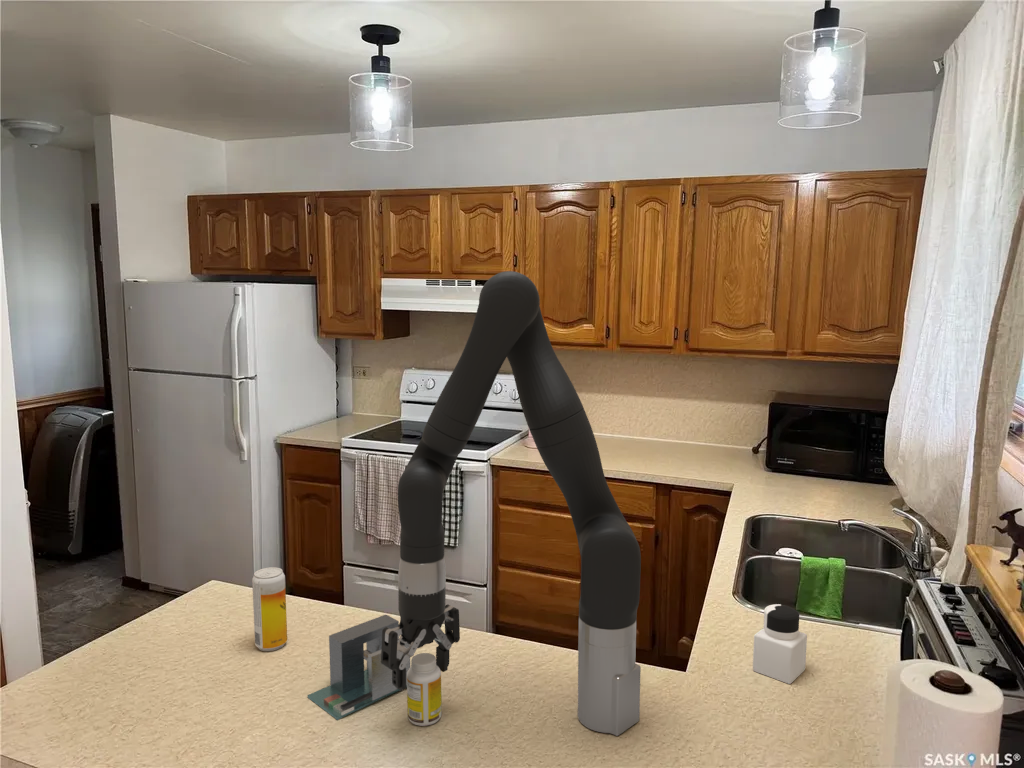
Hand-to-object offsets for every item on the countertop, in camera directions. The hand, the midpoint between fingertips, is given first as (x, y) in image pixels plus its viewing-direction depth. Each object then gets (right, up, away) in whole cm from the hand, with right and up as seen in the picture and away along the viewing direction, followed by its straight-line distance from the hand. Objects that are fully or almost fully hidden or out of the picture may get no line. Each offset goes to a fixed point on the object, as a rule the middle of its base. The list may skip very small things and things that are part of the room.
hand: (421, 678), depth 117 cm
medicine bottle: (+64, -5, +16) cm, 66 cm away
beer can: (-33, -4, +25) cm, 42 cm away
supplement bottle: (0, -7, +1) cm, 7 cm away
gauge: (-11, -6, +10) cm, 16 cm away
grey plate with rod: (-11, -5, +8) cm, 14 cm away
